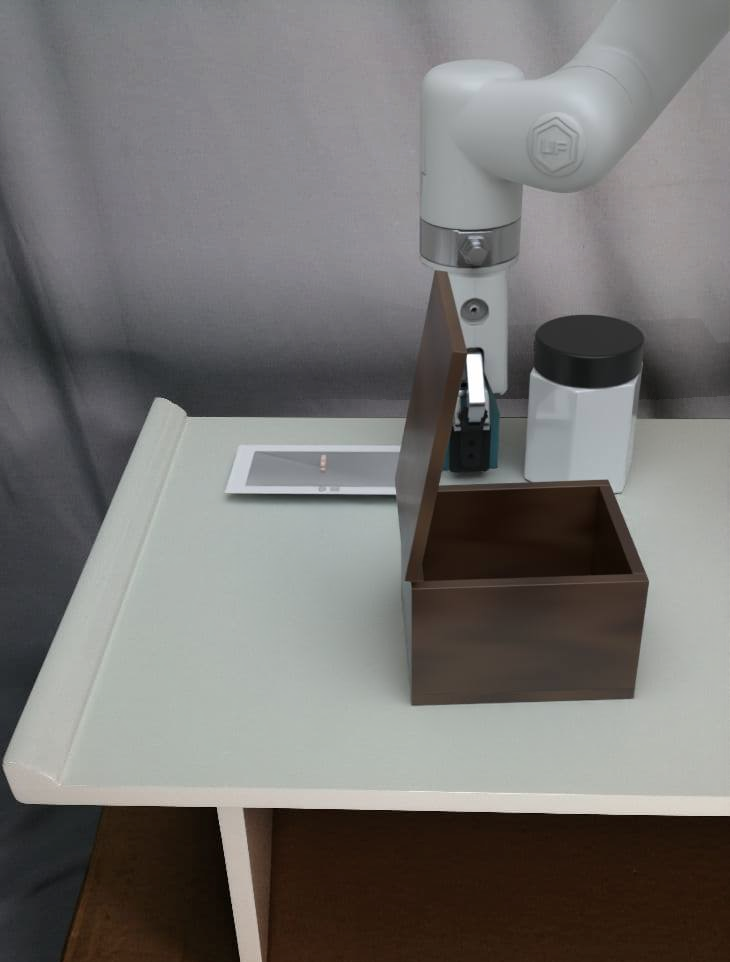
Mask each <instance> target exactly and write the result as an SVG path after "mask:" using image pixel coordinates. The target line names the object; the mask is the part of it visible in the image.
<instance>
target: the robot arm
mask: <svg viewBox="0 0 730 962" xmlns="http://www.w3.org/2000/svg"><path fill="white" fill-rule="evenodd" d="M729 33H730V0H616V1H615V2H614V4H613V5H612V6H611V8H610V9H609V11H608V12H607V13H606V14H605V16H604V17H603V18H602V20H601V21H600V23H599V24H598V25H597V26H596V28H595V29H594V30H593V32H592V33H591V34H590V36H589V37H588V38H587V40H586V41H585V43H584V44H583V45H582V46H581V48H580V49H579V50H578V52H576V54H575V55H574V56H573V58H572V59H571V60H569V62H567V63H566V64H564V65H563V66H562V67H560V68H559V69H557V70H556V71H555V72H552V73H551V74H548V75H544V76H542V77H539V78H536V79H526V76H525V74H524V73H523V71H522V70H521V69H520V68H519V67H517V66H516V65H514V64H512V63H510V62H506V61H501V60H495V59H484V58H483V59H482V58H479V59H478V58H475V59H473V58H472V59H471V58H470V59H459V60H452V61H448V62H447V61H446V62H443V63H441V64H438V65H436V66H434V67H432V68H431V69H430V70H428V71H427V72H426V73H425V75H424V77H423V79H422V82H421V84H420V85H421V86H420V91H419V239H418V240H419V241H418V242H419V243H418V244H419V246H418V248H419V252H418V253H419V257H418V258H419V261H420V263H421V264H422V265H424V266H425V267H426V268H428V269H431V270H432V271H433V270H434V271H435V270H439V271H447V272H448V276H449V280H450V284H451V288H452V292H453V296H454V300H455V304H456V308H457V312H458V316H459V320H460V324H461V329H462V333H463V337H464V341H465V345H466V349H467V353H468V354H467V359H466V363H465V368H464V373H463V377H462V382H461V386H460V387H467V389H463V390H460V391H459V396H458V400H457V405H456V409H455V414H454V419H453V425H452V428H451V433H450V437H449V469H450V470H449V471H450V472H451V473H454V474H455V473H456V474H458V473H459V474H460V473H483V472H488V471H489V470H490V468H489V467H490V445H491V424H490V412H489V386H490V387H491V390H492V392H493V393H494V394H498V395H499V396H503V395H504V394H505V393H506V392H507V391H508V360H509V359H508V350H509V349H508V348H509V347H508V346H509V289H508V273H507V270H508V269H510V268H511V267H513V266H515V265H516V264H517V263H518V262H519V260H520V250H521V249H520V247H521V226H522V213H523V195H524V193H523V192H524V191H523V190H524V186H528V187H531V188H535V189H538V190H542V191H546V192H550V193H558V194H573V193H577V192H582V191H584V190H588V189H590V188H592V187H593V186H595V185H597V184H598V183H599V182H601V181H603V179H605V178H606V177H607V176H608V174H609V173H611V172H612V170H613V169H614V168H615V167H616V166H617V165H618V164H619V162H621V161H622V159H623V158H624V156H626V154H627V153H628V152H629V151H631V149H632V148H633V147H634V146H635V145H636V144H637V143H638V142H639V141H640V140H641V139H642V137H644V135H645V134H646V132H648V130H649V129H650V128H651V126H652V125H653V124H654V123H655V121H656V120H657V119H658V118H659V117H660V116H661V114H662V113H663V112H664V111H665V109H666V108H667V107H668V106H669V105H670V103H671V102H672V101H673V99H675V97H676V96H677V94H679V93H680V91H681V90H682V89H683V87H684V86H685V85H686V84H687V83H688V81H690V79H691V78H692V77H693V75H694V74H695V73H696V72H697V71H698V69H699V68H700V67H701V66H702V65H703V63H704V62H705V61H706V60H707V59H708V58H709V56H711V54H712V52H713V51H714V50H715V49H716V48H717V46H718V45H719V44H720V43H721V41H723V39H724V38H725V37H726V36H727V35H728V34H729ZM460 398H467V407H463V409H462V411H461V399H460Z"/></svg>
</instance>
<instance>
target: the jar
mask: <svg viewBox="0 0 730 962" xmlns="http://www.w3.org/2000/svg"><path fill="white" fill-rule="evenodd" d="M645 342H646V341H645V335H644V333H643V331H642V330H641V329H640V328H639V327H638V326H636V325H634V324H632V323H631V322H628V321H626V320H624V319H620V318H616V317H612V316H607V315H600V314H571V315H565V316H560V317H556V318H553V319H551V320H548V321H545V322H544V323H542V324H541V325H540V326H539V327H538V328H537V329H536V331H535V333H534V341H533V367H532V369H531V371H530V373H529V386H528V403H527V421H526V437H525V455H524V472H523V477H524V479H525V480H527V481H528V482H548V481H576V480H604V479H608V480H609V482H610V485H611V487H612V490H613V492H614V494H620V493H622V492H623V491H624V489H625V485H626V482H627V479H628V476H629V472H630V469H631V466H632V462H633V461H632V460H633V451H634V443H635V434H636V425H637V416H638V409H639V399H640V393H641V392H640V390H641V383H642V382H641V381H642V374H643V366H644V365H643V364H644V362H643V361H644V360H643V359H644V352H645V351H644V350H645Z"/></svg>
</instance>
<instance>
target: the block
mask: <svg viewBox="0 0 730 962" xmlns="http://www.w3.org/2000/svg"><path fill="white" fill-rule="evenodd" d="M463 389H467V387H460V390H463ZM495 394H496V393H493V392H492V390H491V387H490V385H489V412H490V424H491V445H490V467H489V469H498V464H499V463H498V462H499V440H500V439H499V437H500V419H501V413H500V409H499V406H498V401H497V399H496V395H495ZM460 399H461V411H462V409H463V407H467V398H460ZM452 425H453V423H452ZM443 470H444V471H445V470H446V471H447V470H449V471H450V469H449V442H448V446H447V451H446V456H445V460H444V465H443V469H442V471H443Z"/></svg>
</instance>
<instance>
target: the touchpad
mask: <svg viewBox="0 0 730 962" xmlns="http://www.w3.org/2000/svg"><path fill="white" fill-rule="evenodd" d="M400 449H401V445H378V444H377V445H372V444H371V445H364V444H363V445H362V444H361V445H359V444H357V445H355V444H353V445H352V444H351V445H346V444H345V445H339V444H338V445H336V444H334V445H333V444H331V445H330V444H328V445H325V444H318V445H316V444H313V445H312V444H239V445H238V448H237V451H236V454H235V458H234V461H233V464H232V467H231V470H230V474H229V477H228V480H227V483H226V487H225V490H224V494H257V495H259V494H261V495H262V494H264V495H265V494H266V495H268V494H270V495H271V494H273V495H275V494H276V495H277V494H278V495H282V494H284V495H394V496H396V488H395V475H396V469H397V464H398V459H399V454H400Z"/></svg>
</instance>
